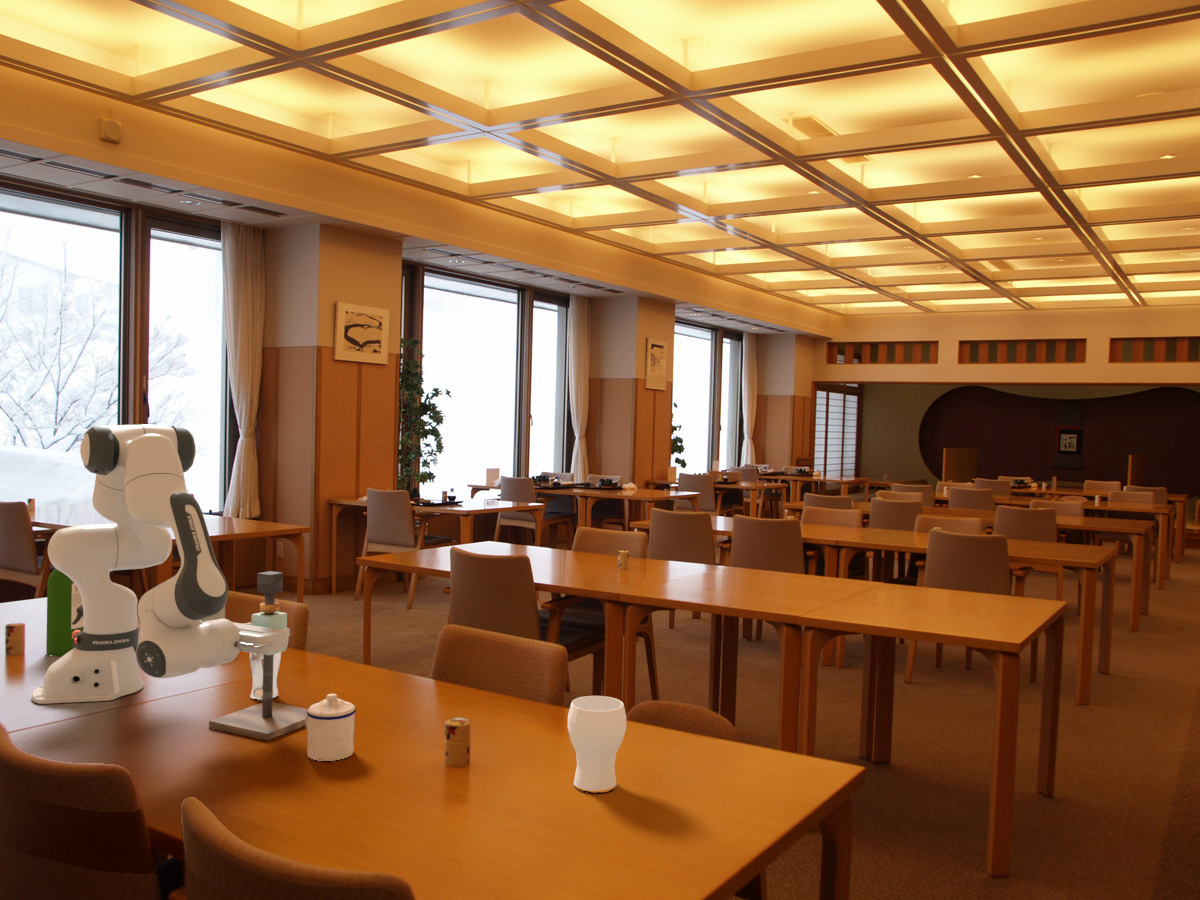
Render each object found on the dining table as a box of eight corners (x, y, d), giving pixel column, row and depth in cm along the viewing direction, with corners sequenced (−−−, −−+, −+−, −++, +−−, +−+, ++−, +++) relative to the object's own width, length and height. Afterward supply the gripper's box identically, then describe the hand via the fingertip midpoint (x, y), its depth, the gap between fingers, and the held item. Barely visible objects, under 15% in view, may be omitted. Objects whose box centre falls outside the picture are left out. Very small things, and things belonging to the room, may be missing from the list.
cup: (604, 802, 159) (607, 716, 159) (554, 788, 165) (556, 704, 164) (635, 783, 168) (637, 701, 168) (586, 770, 174) (588, 691, 173)
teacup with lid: (364, 753, 179) (366, 694, 179) (326, 766, 171) (327, 704, 171) (325, 739, 186) (326, 682, 186) (286, 751, 178) (287, 692, 178)
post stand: (267, 741, 184) (270, 582, 183) (209, 728, 191) (212, 574, 190) (322, 719, 198) (326, 571, 198) (266, 707, 205) (269, 564, 204)
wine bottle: (72, 657, 242) (74, 534, 241) (38, 656, 242) (40, 533, 242) (91, 649, 251) (93, 530, 250) (59, 647, 251) (61, 529, 250)
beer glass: (285, 693, 216) (286, 629, 216) (272, 701, 209) (273, 636, 209) (257, 691, 217) (258, 628, 217) (242, 700, 210) (244, 634, 210)
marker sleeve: (268, 655, 191) (269, 617, 191) (250, 652, 193) (251, 614, 193) (286, 650, 195) (287, 613, 195) (268, 647, 197) (269, 610, 197)
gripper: (258, 632, 177) (308, 619, 190) (181, 620, 186) (235, 609, 198) (257, 664, 177) (308, 650, 190) (181, 651, 186) (234, 638, 199)
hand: (270, 629), depth 194 cm, fingers open, 8 cm apart
